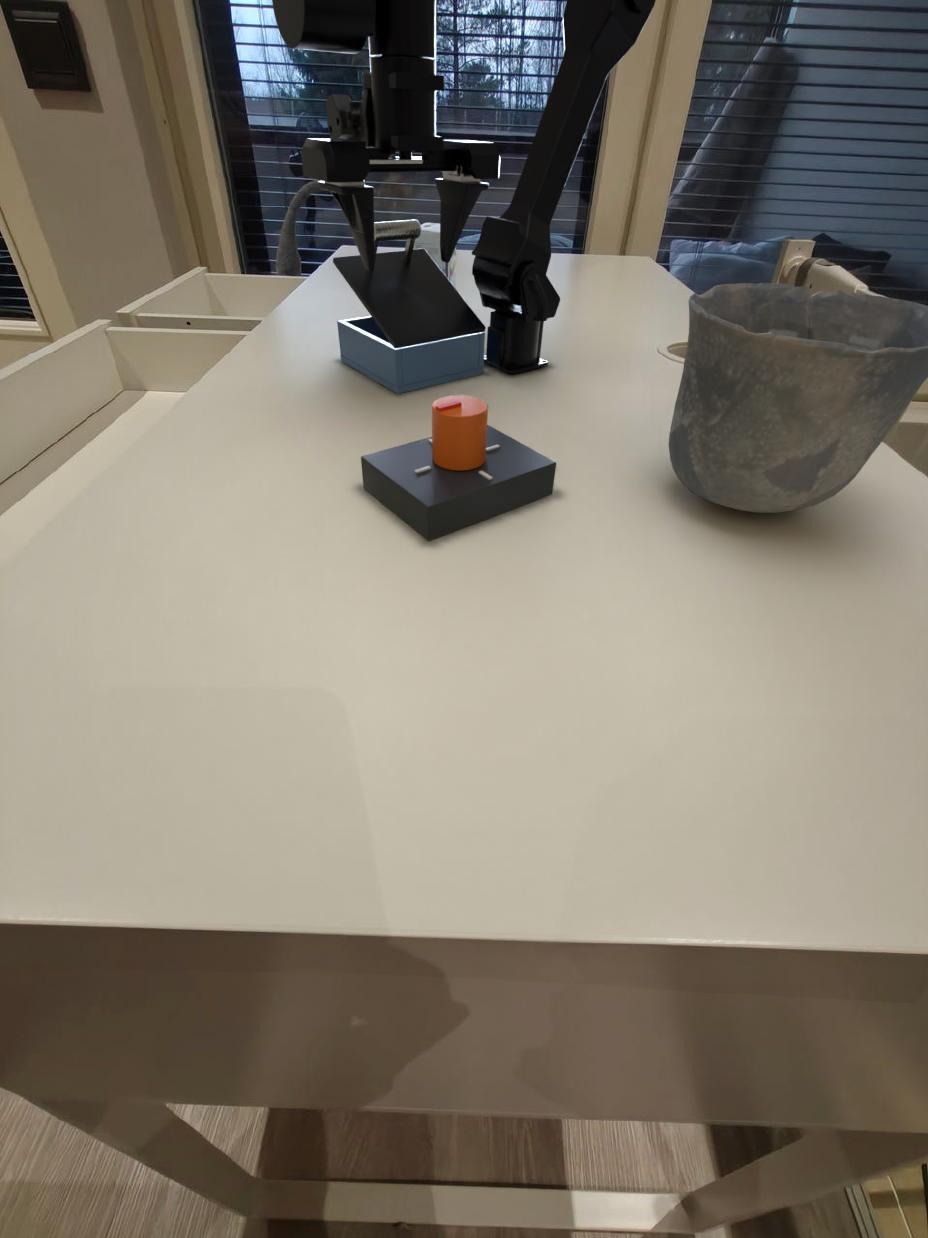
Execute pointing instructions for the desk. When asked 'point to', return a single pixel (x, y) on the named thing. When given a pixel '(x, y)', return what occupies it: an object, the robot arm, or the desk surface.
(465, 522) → the control panel
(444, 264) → the ink box
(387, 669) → the desk surface
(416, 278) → the lid
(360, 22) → the robot arm
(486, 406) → the dial
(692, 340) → the grey stone pot
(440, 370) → the blue open box
